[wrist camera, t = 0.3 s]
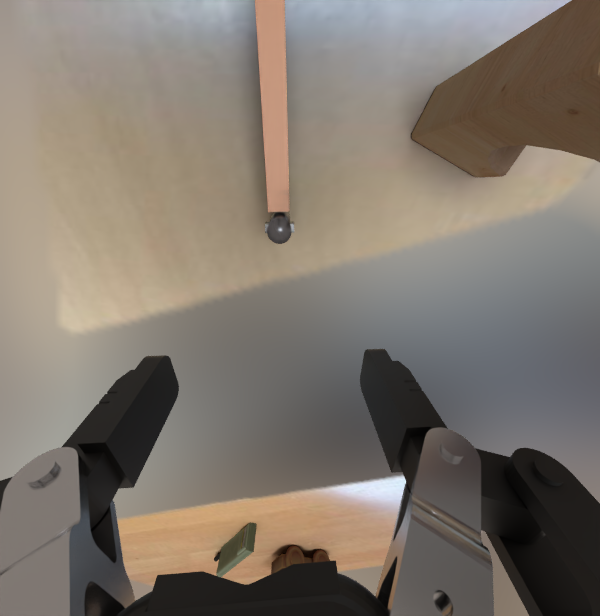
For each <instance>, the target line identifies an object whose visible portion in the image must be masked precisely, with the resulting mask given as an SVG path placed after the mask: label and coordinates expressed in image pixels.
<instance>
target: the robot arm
mask: <svg viewBox="0 0 600 616" xmlns="http://www.w3.org/2000/svg"><path fill="white" fill-rule="evenodd" d="M360 384H361V390H362V393H363V396H364V398H365V401H366V404H367V407H368V409H369V412H370V415H371V418H372V421H373V423H374V426H375V429H376V431H377V434H378V437H379V439H380V442H381V445H382V448H383V451H384V453H385V456H386V459H387V461H388V464H389V467H390V470H391V472H403V474H404V477H405V479H406V484H405V488H404V492H403V496H402V500H401V504H400V508H399V512H398V516H397V520H396V524H395V528H394V532H393V536H392V540H391V543H390V547H389V550H388V553H387V556H386V560H385V563H384V566H383V570H382V573H381V577H380V581H379V585H378V588H377V592H376V596H374V595H373V594H372V593H371V592H370V591H369V590H368V589H366V588H365V587H364V586H362V585H361V584H359V583H358V582H357V581H354V580H353V579H351V578H349V577H347V576H345V575H342V574H338V573H337V566H336V561H325V562H312V563H300V564H292V565H290V566H288V567H286V568H284V569H282V570H280V571H277V572H275V573H273V574H271V575H269V576H267V577H265V578H262V579H260V580H258V581H256V582H254V583H252V584H249V585H244V584H240V583H237V582H234V581H230V580H227V579H224V578H221V577H218V576H215V575H212V574H209V573H206V572H191V573H179V574H167V575H157V578H156V581H155V585H154V588H153V591H152V592H150V593H148V594H146V595H145V596H143V597H141V598H140V599H138V600H136V601H135V597H134V593H133V589H132V586H131V583H130V580H129V578H128V576H127V573H126V571H125V567H124V563H123V557H122V550H121V543H120V537H119V530H118V523H117V516H116V510H115V504H114V502H113V498H114V496H115V494H116V492H117V490H118V488H130V487H131V488H132V487H134V486H135V483H136V481H137V479H138V477H139V475H140V473H141V471H142V469H143V467H144V465H145V463H146V461H147V459H148V457H149V455H150V453H151V451H152V448H153V446H154V444H155V442H156V440H157V438H158V436H159V434H160V432H161V430H162V428H163V426H164V424H165V422H166V420H167V417H168V415H169V413H170V411H171V409H172V407H173V405H174V403H175V401H176V399H177V396H178V391H179V386H178V381H177V378H176V375H175V372H174V369H173V366H172V363H171V360H170V358H169V356H147V357H145V358H144V359H143V360H142V361H141V362H140V364H139V365H138V366H137V368H136V369H135V370H130V371H129V372H128V373H126V374H125V375H123V376H122V377H121V378H120V379H118V380H117V381H116V382H115V383H114V385H113V386H112V387H111V388H110V389H109V391H108V392H107V394H105V395H104V397H103V398H102V399H101V400H100V402H99V404H97V405H96V406H95V407H94V409H93V410H92V411H91V412H90V414H89V415H88V416H87V417H86V418H85V420H84V421H83V422H82V423H81V425H80V426H79V427H78V428H77V429H76V431H75V432H74V433H73V434H72V435H71V437H70V438H69V439H68V440H67V442H66V443H65V444H64V445H63V446H62V447H61V448H57V449H53V450H51V451H48V452H46V453H44V454H42V455H40V456H38V457H36V458H35V459H33V460H32V461H30V462H29V463H28V464H26V465H25V466H24V467H23V468H21V469H20V470H19V472H17V473H16V474H15V476H14V477H11V478H8V479H5V480H2V481H0V616H494V601H493V600H494V597H493V567H492V559H491V555H490V552H489V550H488V549H487V548H486V547H485V546H483V544H482V540H481V530H483V531H485V532H486V534H487V536H488V538H489V539H490V541H491V543H492V545H493V547H494V549H495V551H496V553H497V554H498V556H499V559H500V560H501V562H502V564H503V566H504V568H505V570H506V572H507V574H508V576H509V578H510V580H511V581H512V583H513V585H514V587H515V589H516V591H517V593H518V595H519V597H520V599H521V601H522V602H523V604H524V606H525V608H526V610H527V612H528V614H529V616H600V503H599V502H598V501H597V500H596V499H595V498H594V497H593V496H592V495H591V494H590V493H589V492H588V490H587V489H586V488H585V487H584V486H583V485H582V484H581V483H580V482H579V481H578V479H576V477H575V476H574V475H573V474H572V473H571V472H570V471H569V470H568V469H567V468H566V467H564V466H563V465H562V464H561V463H559V462H558V461H557V460H555V459H553V458H552V457H550V456H548V455H546V454H545V453H542V452H540V451H537V450H534V449H529V448H520V449H517V450H516V451H515V452H514V453H513V454H512V455H511V457H507V456H503V455H499V454H495V453H491V452H487V451H483V450H479V449H476V448H474V446H473V445H472V444H471V443H470V442H469V441H468V440H467V439H466V438H464V437H463V436H462V435H460V434H459V433H457V432H455V431H453V430H450V429H448V428H447V427H446V425H445V424H444V422H443V421H442V419H441V418H440V416H439V415H438V413H437V412H436V410H435V409H434V407H433V406H432V404H431V403H430V401H429V399H428V398H427V396H426V395H425V393H424V392H423V391H422V390H421V387H420V386H419V384H418V383H417V382H416V380H415V378H414V376H413V375H412V374H411V372H410V370H409V369H408V368H406V367H405V366H404V365H403V364H401V363H400V362H399V361H392V360H391V358H390V356H389V355H388V353H387V351H386V350H385V349H367V350H366V351H365V353H364V358H363V364H362V369H361V375H360Z"/></svg>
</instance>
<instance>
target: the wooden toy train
mask: <svg viewBox="0 0 600 616" xmlns="http://www.w3.org/2000/svg"><path fill="white" fill-rule="evenodd" d="M325 561H330V559H329V557H328V555H327V554H326V553H325V552H324V551H323V550H317V551H315V553H314V555H313V558H307V557H304V555H303V552H302V551H301V549H300V548H299V547H297V546H295V545H292V546H290V547H289V548H288V549H287V552H286V554H281V555H280V556H279V557H277V558H276V559H275V560H274V561H273V562H272V570H271V574H273V573H275V572H277V571H280V570H282V569H284V568H286V567H288V566H290V565H292V564H300V563H312V562H325Z"/></svg>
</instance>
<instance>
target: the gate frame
mask: <svg viewBox="0 0 600 616" xmlns="http://www.w3.org/2000/svg"><path fill="white" fill-rule="evenodd" d="M291 232H294V222H293V221H290V218H289V213H288V212H273V214H272V217H271V220H270V222H266V223H265V233H267V234H268V237H269V238H270V239H271V240H272V241H273V242H275V243H278V244H282V243H285V242H286V241H288V240H289V238H290V236H291Z"/></svg>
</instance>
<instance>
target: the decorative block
mask: <svg viewBox="0 0 600 616" xmlns="http://www.w3.org/2000/svg"><path fill="white" fill-rule="evenodd" d="M412 139H413V140H415V141H416V142H418V143H420V144H421V145H423V146H425V147H426V148H428V149H430V150H431V151H433V152H435V153H436V154H438V155H440V156H441V157H443V158H445V159H446V160H448V161H450V162H451V163H453V164H455V165H456V166H458V167H460V168H461V169H463V170H465V171H466V172H468V173H470V174H471V175H473V176H475V177H499V176H504V175H506V173H507V172H508V171H509V169H510V168H511V166H512V165H513V163H514V162H515V161H516V159H517V158H518V156H519V155H520V153H521V152H522V151H523V149H524V148H525V146H526V145H529V146H536V147H543V148H549V149H556V150H562V151H565V152H569V153H573V154H576V155H580V156H583V157H587V158H591V159H594V160H596V161H598V162H600V0H572V1H570V2H569V3H567V4H566V5H564V6H562V7H561V8H559V9H558V10H556V11H554V12H553V13H551V14H550V15H548V16H547V17H545V18H543V19H542V20H540V21H539V22H537V23H536V24H534V25H532V26H531V27H529V28H528V29H526V30H524V31H523V32H521V33H520V34H518V35H517V36H515V37H513V38H512V39H510V40H509V41H507V42H505V43H504V44H502V45H501V46H499V47H498V48H496V49H495V50H493V51H491V52H490V53H488V54H487V55H485V56H484V57H482V58H481V59H479V60H477V61H476V62H474V63H473V64H471V65H470V66H468V67H466V68H465V69H463V70H462V71H460V72H459V73H457V74H455V75H454V76H452V77H451V78H449V79H447V80H446V81H444V82H443V83H441V84H440V85H438V86H436V88H435V90H434V92H433V94H432V96H431V98H430V100H429V102H428V104H427V106H426V108H425V109H424V111H423V113H422V115H421V117H420V119H419V121H418V123H417V125H416V127H415V129H414V131H413V133H412Z"/></svg>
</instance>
